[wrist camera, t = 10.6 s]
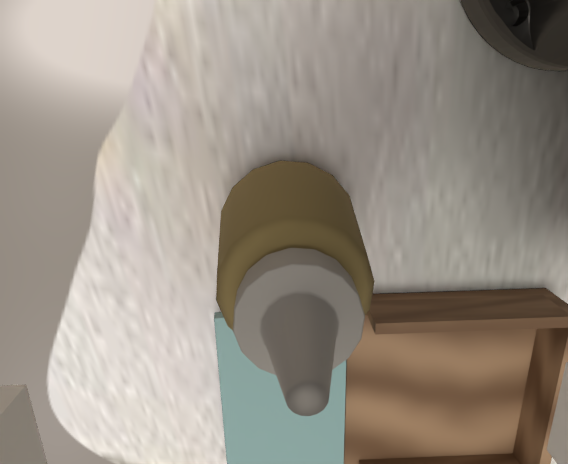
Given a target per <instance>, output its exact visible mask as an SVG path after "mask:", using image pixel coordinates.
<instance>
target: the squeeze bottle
mask: <svg viewBox="0 0 568 464" xmlns="http://www.w3.org/2000/svg"><path fill="white" fill-rule="evenodd" d="M373 287H374V278H373V275H372V271H371V267H370V264H369V260H368V257H367V253H366V250H365V246H364V243H363V240H362V236H361V233H360V230H359V226H358V223H357V220H356V216H355V213H354V210H353V206H352V203H351V200H350V196H349V195H348V194H347V192H346V191H345V190H344V189H343V187H342V186H341V185H340V184H339V183H338V181H337V180H336V179H335V178H334V177H333V175H331V174H329V173H327V172H325V171H323V170H321V169H319V168H317V167H315V166H313V165H311V164H309V163H305V162H291V161H277V162H274V163H271V164H268V165H265V166H262V167H259V168H256V169H253V170H252V171H251V172H250V173H249V174H247V175H246V176H245V177H244V178H243V179H242V180H241V181H239V182H238V183H237V184H236V185H235V186H234V187H233V188H232V190H231V192H230V194H229V196H228V198H227V200H226V202H225V204H224V206H223V209H222V211H221V222H220V238H219V253H218V268H217V296H216V300H217V302H218V305H219V307H220V310H221V312H222V314H223V317H224V319H225V321H226V324H227V326H228V327H229V328H230V329H231V330H232V331H233V333H234V335H235V337H236V340H237V342H238V344H239V347H240V349H241V352H242V353H243V354H244V355H245V356H246V357H247V358H248V359H249V360H250V361H252V362H253V363H254V364H255V365H256V366H257V367H258V368H259V369H262V370H264V371H267V372H269V373H271V374H274V375H276V376H277V379H278V381H279V384H280V387H281V390H282V393H283V395H284V398H285V401H286V404H287V406H288V408H289V409H290V410H291V411H292V412H293V413H295V414H298V415H300V416H312V415H315V414H318V413H320V412H321V411H323V410H324V409H325V407H326V406H327V404H328V402H329V394H330V386H331V377H332V370H333V369H334V368H335V367H337V366H338V365H340V364H341V363H342V362H344V361H345V360H347V359H348V358H349V357H350V355H351V354H352V352H353V351H354V349H355V348H356V346H357V345H358V343H359V341H360V340H361V338H362V332H363V326H364V320H365V316H366V314H367V313H368V311H369V309H370V305H371V299H372V293H373Z"/></svg>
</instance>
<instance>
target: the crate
mask: <svg viewBox="0 0 568 464" xmlns="http://www.w3.org/2000/svg"><path fill="white" fill-rule="evenodd" d="M566 362H568V304H567V303H566V302H564V301H563V300H561V299H560V298H559V297H557V296H556V295H554V294H553V293H552V292H550V291H549V290H548V289H546V288H536V289H508V290H479V291H450V292H421V293H392V294H372V299H371V305H370V309H369V311H368V313H367V314H366V316H365V320H364V326H363V332H362V338H361V340H360V341H359V343H358V345H357V346H356V348H355V349H354V351H353V352H352V354H351V355H350V357H349V358H348V359H347V360H346V392H345V429H344V464H550V463H551V458H552V456H551V455H550V453H549V452H548V451H547V445H548V441H549V436H550V432H551V427H552V423H553V419H554V414H555V410H556V405H557V401H558V396H559V392H560V387H561V383H562V378H563V374H564V370H565V365H566Z"/></svg>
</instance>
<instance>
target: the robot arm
mask: <svg viewBox="0 0 568 464" xmlns="http://www.w3.org/2000/svg"><path fill="white" fill-rule="evenodd" d="M461 3H462V5H463V7H464V10H465V12H466V14H467V15H468V17H469V19H470V21H471V22H472V24H473V25H474V27H475V28H476V30H477V31H478V32H479V33H480V35H481V36H482V37H483V38H484V39H485V40H486V41H487V42H488V43H489V44H490V45H491V46H492V47H493V48H494V49H496V50H497V51H498V52H500V53H501V54H502V55H504V56H506V57H508V58H509V59H511V60H513V61H515V62H517V63H520V64H522V65H525V66H528V67H532V68H536V69H542V70H550V71H566V70H568V0H461ZM547 451H548V452H549V453H550V455H551V456H552V457H553V459H554V460H555V461H556V463H557V464H568V362H566V365H565V370H564V374H563V378H562V383H561V387H560V392H559V396H558V401H557V405H556V410H555V414H554V419H553V423H552V427H551V432H550V436H549V441H548V445H547ZM0 464H47V461H46V457H45V453H44V449H43V446H42V442H41V438H40V434H39V431H38V427H37V423H36V419H35V416H34V412H33V408H32V405H31V401H30V397H29V393H28V389H27V386H26V385H2V386H0Z"/></svg>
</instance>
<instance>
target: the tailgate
mask: <svg viewBox="0 0 568 464" xmlns="http://www.w3.org/2000/svg"><path fill="white" fill-rule="evenodd" d="M214 322H215V334H216V345H217V356H218V367H219V379H220V390H221V401H222V412H223V423H224V435H225V446H226V457H227V464H344V429H345V392H346V360H345V361H344V362H342V363H341V364H340V365H338V366H337V367H335V368H334V369H333V370H332V377H331V386H330V394H329V402H328V404H327V406H326V407H325V409H324V410H323V411H321V412H320V413H318V414H315V415H312V416H300V415H298V414H295V413H293V412H292V411H291V410H290V409H289V408H288V406H287V404H286V401H285V398H284V395H283V393H282V390H281V387H280V384H279V381H278V379H277V376H276V375H274V374H271V373H269V372H267V371H264V370H262V369H259V368H258V367H257V366H256V365H255V364H254V363H253V362H252V361H250V360H249V359H248V358H247V357H246V356H245V355H244V354H243V353H242V352H241V349H240V347H239V344H238V342H237V340H236V337H235V335H234V333H233V331H232V330H231V329H230V328H229V327H228V326H227V324H226V321H225V319H224V317H223V314H222V312H216V313H215V315H214Z"/></svg>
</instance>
